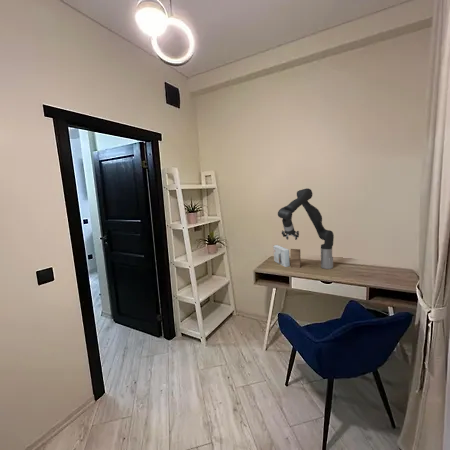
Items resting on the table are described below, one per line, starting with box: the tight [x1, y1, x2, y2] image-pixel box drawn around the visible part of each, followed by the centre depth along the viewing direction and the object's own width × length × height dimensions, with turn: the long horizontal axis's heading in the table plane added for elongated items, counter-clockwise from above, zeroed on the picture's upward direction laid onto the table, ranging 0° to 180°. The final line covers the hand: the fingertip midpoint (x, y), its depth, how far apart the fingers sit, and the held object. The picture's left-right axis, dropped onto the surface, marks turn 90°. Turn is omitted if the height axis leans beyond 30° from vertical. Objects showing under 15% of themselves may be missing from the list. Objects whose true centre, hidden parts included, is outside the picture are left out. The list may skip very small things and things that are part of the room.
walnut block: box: [289, 248, 302, 269], centre depth 229 cm, size 4×8×16 cm, turn 64°
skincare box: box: [272, 244, 291, 268], centre depth 241 cm, size 21×6×16 cm, turn 17°
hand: (291, 238), depth 214 cm, fingers open, 6 cm apart
